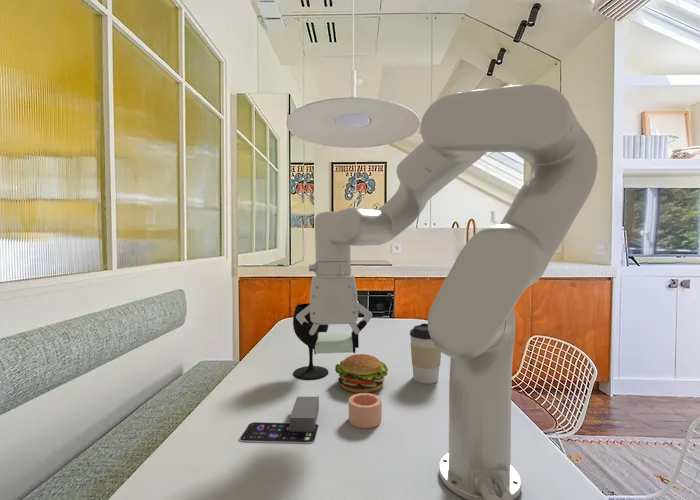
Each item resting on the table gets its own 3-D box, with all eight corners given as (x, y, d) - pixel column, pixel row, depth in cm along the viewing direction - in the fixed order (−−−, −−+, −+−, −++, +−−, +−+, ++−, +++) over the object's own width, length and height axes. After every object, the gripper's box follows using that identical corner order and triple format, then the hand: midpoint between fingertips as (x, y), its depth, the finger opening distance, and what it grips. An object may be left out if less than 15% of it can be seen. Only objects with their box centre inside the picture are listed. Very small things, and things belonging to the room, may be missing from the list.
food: (396, 381, 100) (397, 353, 100) (370, 400, 89) (370, 368, 88) (355, 371, 108) (355, 345, 108) (326, 387, 96) (326, 357, 96)
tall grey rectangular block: (314, 432, 73) (314, 417, 73) (289, 432, 73) (289, 417, 73) (318, 409, 83) (318, 396, 83) (297, 409, 83) (297, 396, 83)
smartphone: (314, 442, 69) (237, 440, 70) (314, 445, 69) (237, 443, 70) (319, 423, 77) (250, 421, 78) (319, 426, 77) (250, 424, 78)
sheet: (352, 352, 72) (352, 345, 72) (315, 353, 72) (314, 346, 72) (351, 337, 84) (351, 331, 84) (319, 338, 84) (319, 332, 84)
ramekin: (382, 428, 75) (382, 407, 75) (348, 428, 75) (348, 407, 75) (379, 412, 82) (380, 393, 82) (349, 412, 82) (349, 393, 82)
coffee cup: (443, 386, 97) (443, 330, 97) (408, 383, 99) (409, 329, 98) (441, 374, 106) (441, 323, 105) (410, 372, 108) (410, 321, 107)
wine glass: (285, 375, 104) (285, 307, 104) (306, 365, 114) (306, 301, 113) (316, 382, 99) (316, 310, 99) (335, 370, 109) (335, 304, 108)
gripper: (290, 271, 74) (292, 358, 74) (375, 270, 74) (377, 356, 74) (295, 269, 81) (296, 348, 81) (372, 267, 81) (373, 346, 82)
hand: (335, 351), depth 78 cm, fingers closed on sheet, 7 cm apart
